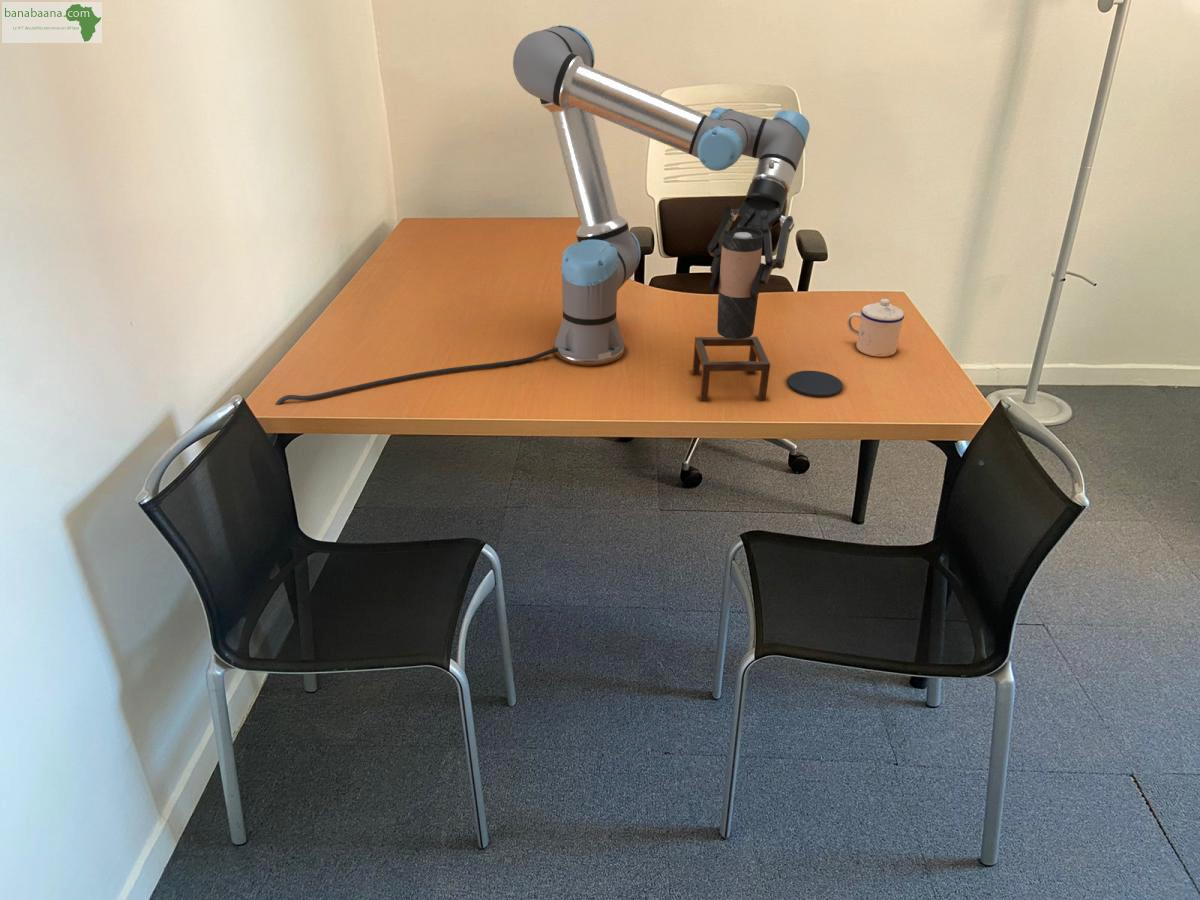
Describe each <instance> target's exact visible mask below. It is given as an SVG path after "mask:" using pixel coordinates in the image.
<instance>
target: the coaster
mask: <svg viewBox="0 0 1200 900" xmlns="http://www.w3.org/2000/svg"><path fill="white" fill-rule="evenodd" d="M787 386H788V387H789V388H790V389H791V390H792V391H794V392H795V393H797V394H800V395H803V396H807V397H812V398H829V397H834V396H836V395H838V394H840V393H841V392H842V390H843V383H842V381H841V380H840V379H839V378H838V377H836V376H835V375H833V374H830V373H827V372H825V371H824V372H823V371H820V370H819V371H818V370H801V371H796V372H793V373H792V374H790V375H789V376H788V378H787Z"/></svg>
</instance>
